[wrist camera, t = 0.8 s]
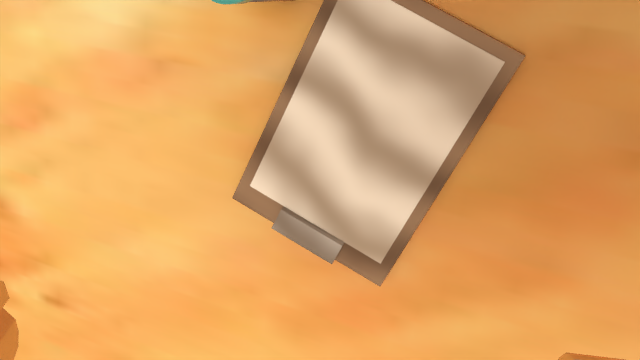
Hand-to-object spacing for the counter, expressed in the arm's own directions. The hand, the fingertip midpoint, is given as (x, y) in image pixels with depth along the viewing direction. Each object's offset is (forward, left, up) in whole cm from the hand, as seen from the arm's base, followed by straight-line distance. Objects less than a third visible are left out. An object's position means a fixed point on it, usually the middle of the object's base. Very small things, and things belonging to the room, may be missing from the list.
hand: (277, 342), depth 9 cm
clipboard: (+8, -3, -39) cm, 40 cm away
